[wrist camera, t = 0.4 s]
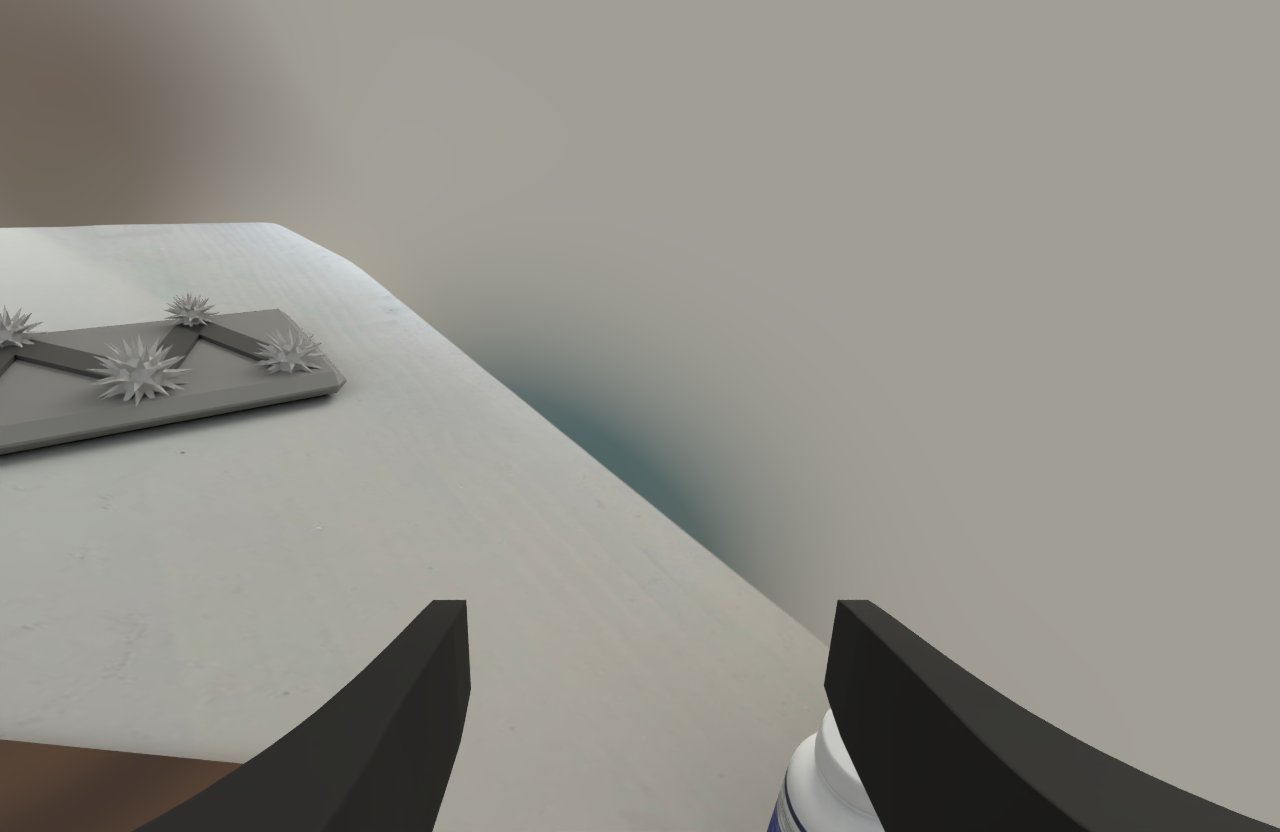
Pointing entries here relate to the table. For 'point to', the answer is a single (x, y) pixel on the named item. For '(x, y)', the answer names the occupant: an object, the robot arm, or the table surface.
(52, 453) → the table surface
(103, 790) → the corner board
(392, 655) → the robot arm
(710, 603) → the table surface
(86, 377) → the decorative plate
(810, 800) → the pill bottle
